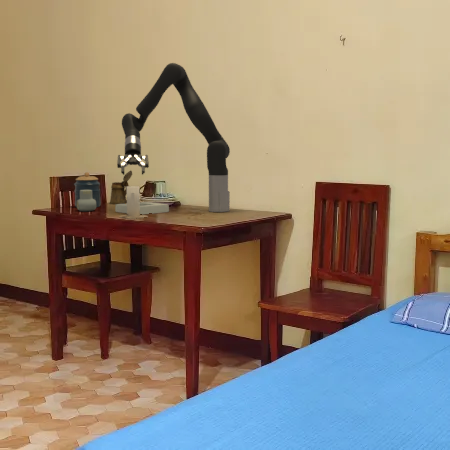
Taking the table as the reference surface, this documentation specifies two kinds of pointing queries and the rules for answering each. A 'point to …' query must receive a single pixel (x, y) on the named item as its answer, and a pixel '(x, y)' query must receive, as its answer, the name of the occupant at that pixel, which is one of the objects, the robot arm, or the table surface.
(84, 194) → the air freshener
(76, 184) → the canister
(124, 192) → the wooden mug
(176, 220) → the table surface
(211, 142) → the robot arm
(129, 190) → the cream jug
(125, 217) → the cork coaster
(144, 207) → the board
